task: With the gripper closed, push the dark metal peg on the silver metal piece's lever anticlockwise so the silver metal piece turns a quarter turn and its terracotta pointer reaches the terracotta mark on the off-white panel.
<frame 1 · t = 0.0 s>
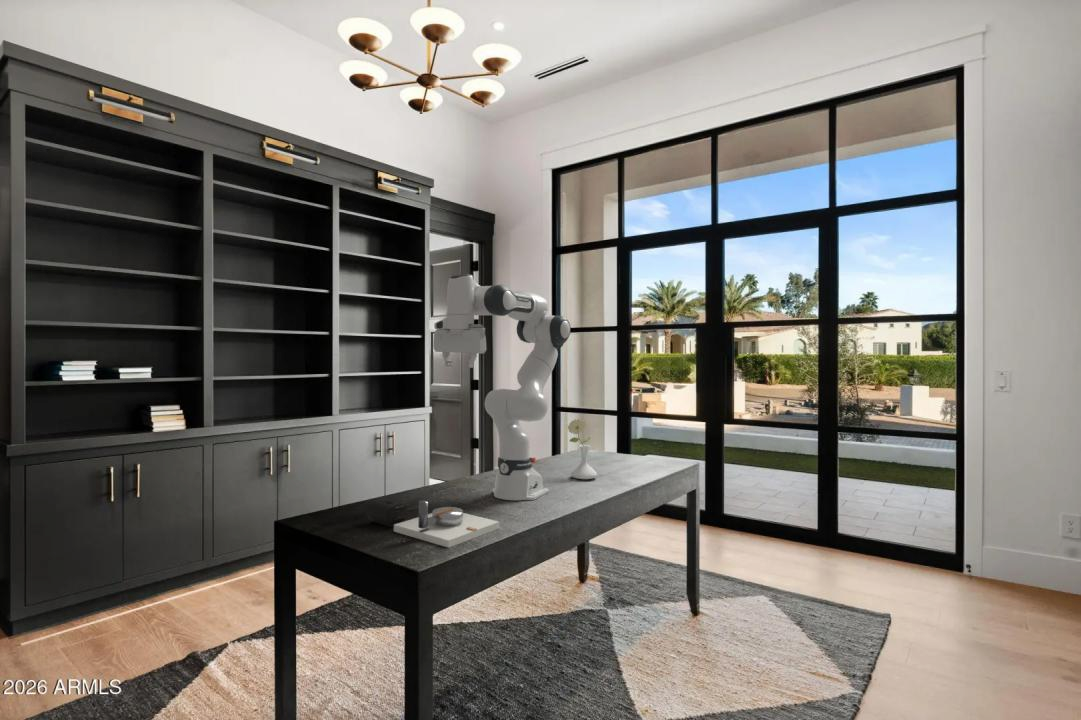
hand: (459, 367, 192), 48 cm above the table, fingers open, 8 cm apart
end cap: (385, 525, 181), on the table
flower in vase: (581, 478, 250), on the table
silver metal piece: (439, 510, 174), point 7 cm above the table, hinge at 0.0°
panel: (447, 529, 177), on the table
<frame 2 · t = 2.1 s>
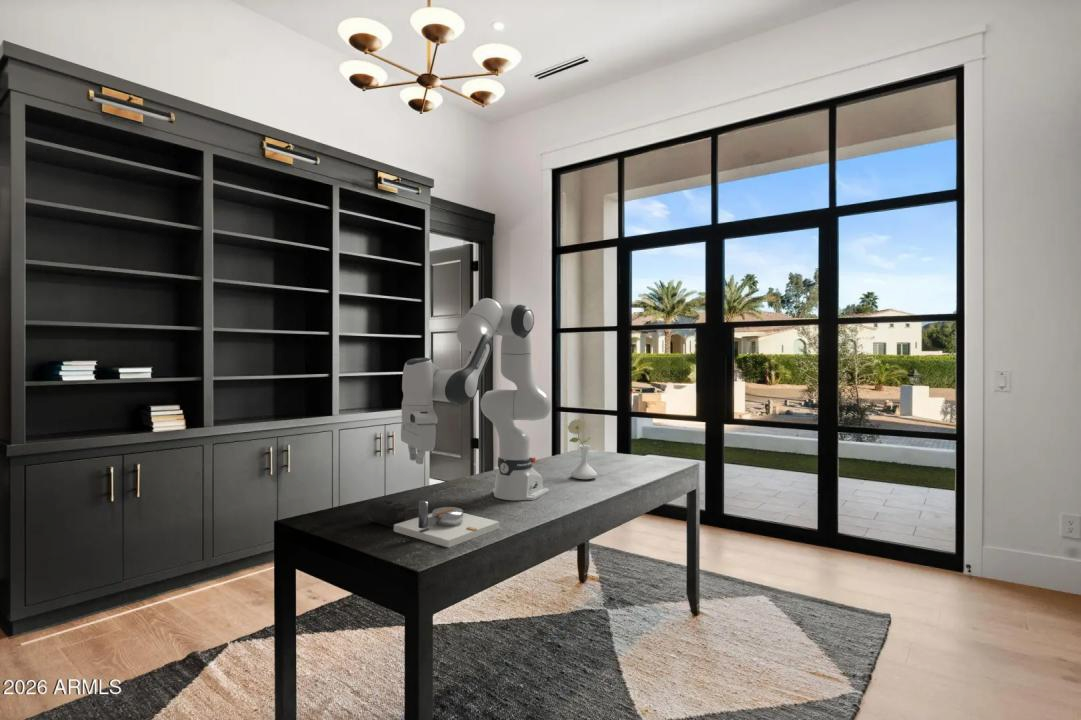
hand: (416, 461, 171), 21 cm above the table, fingers open, 4 cm apart
nothing on the table moved.
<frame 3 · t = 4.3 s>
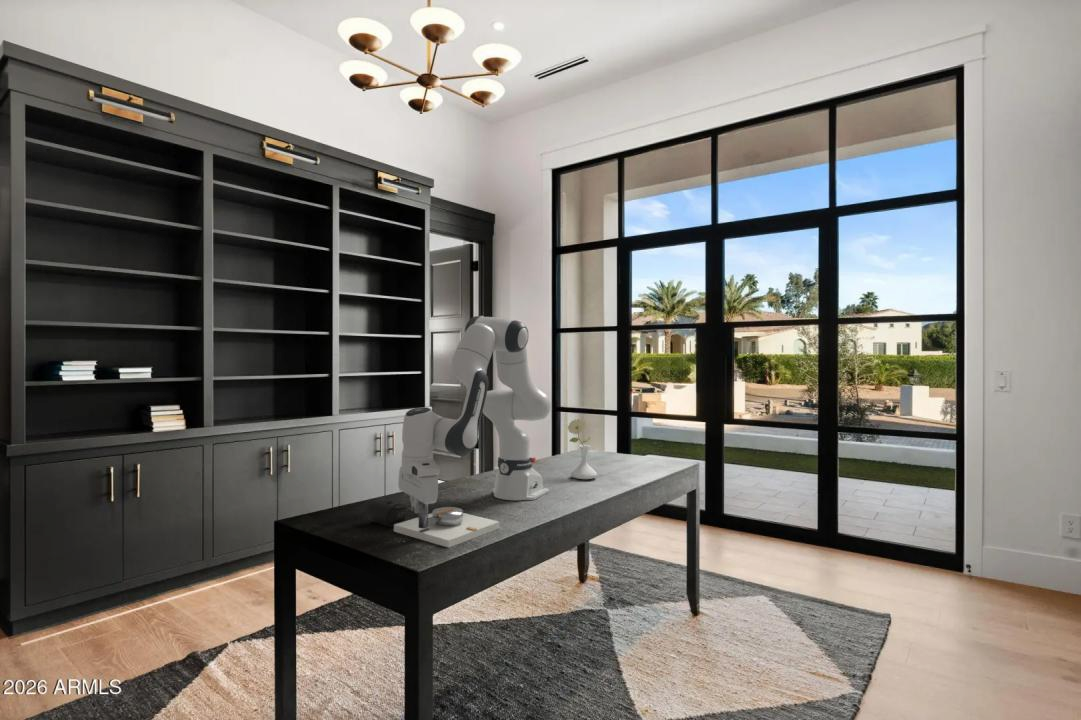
hand: (416, 512, 171), 7 cm above the table, fingers closed
silver metal piece: (439, 510, 174), point 7 cm above the table, hinge at 0.2°, touching gripper
everything else where it was.
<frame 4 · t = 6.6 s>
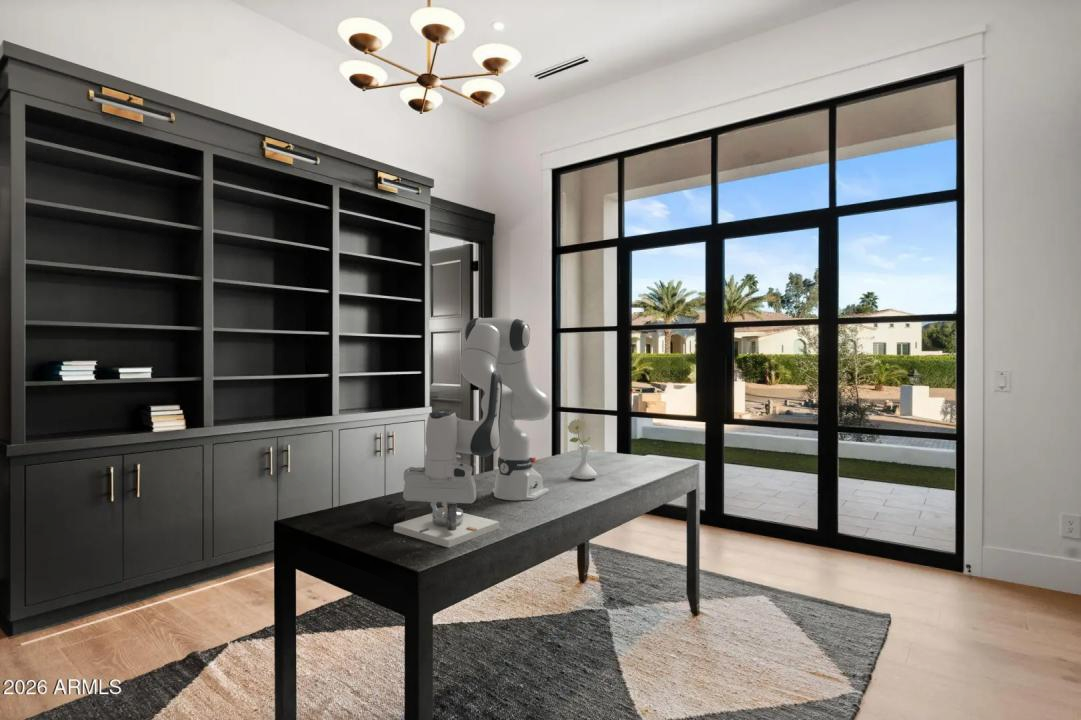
hand: (439, 517, 167), 7 cm above the table, fingers closed
silver metal piece: (449, 511, 174), point 7 cm above the table, hinge at 50.4°, touching gripper
everything else where it was.
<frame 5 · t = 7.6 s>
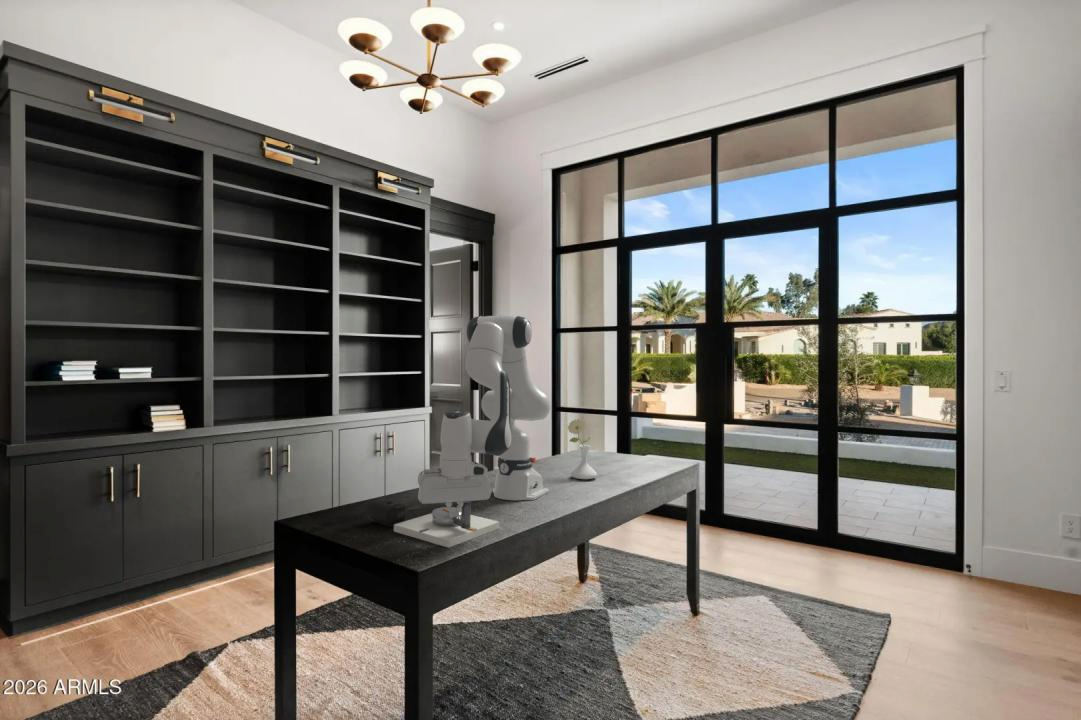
hand: (454, 516, 167), 7 cm above the table, fingers closed
silver metal piece: (453, 510, 174), point 7 cm above the table, hinge at 74.6°, touching gripper
everything else where it was.
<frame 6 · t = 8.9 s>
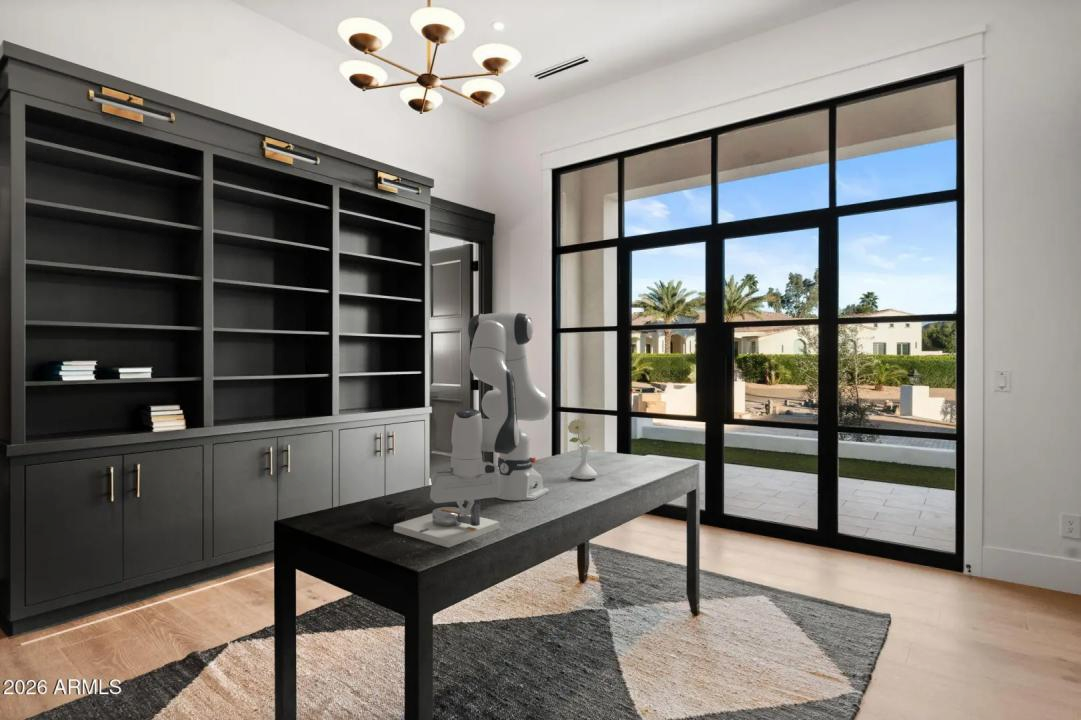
hand: (465, 515, 170), 7 cm above the table, fingers closed
silver metal piece: (457, 509, 175), point 7 cm above the table, hinge at 96.2°, touching gripper
everything else where it was.
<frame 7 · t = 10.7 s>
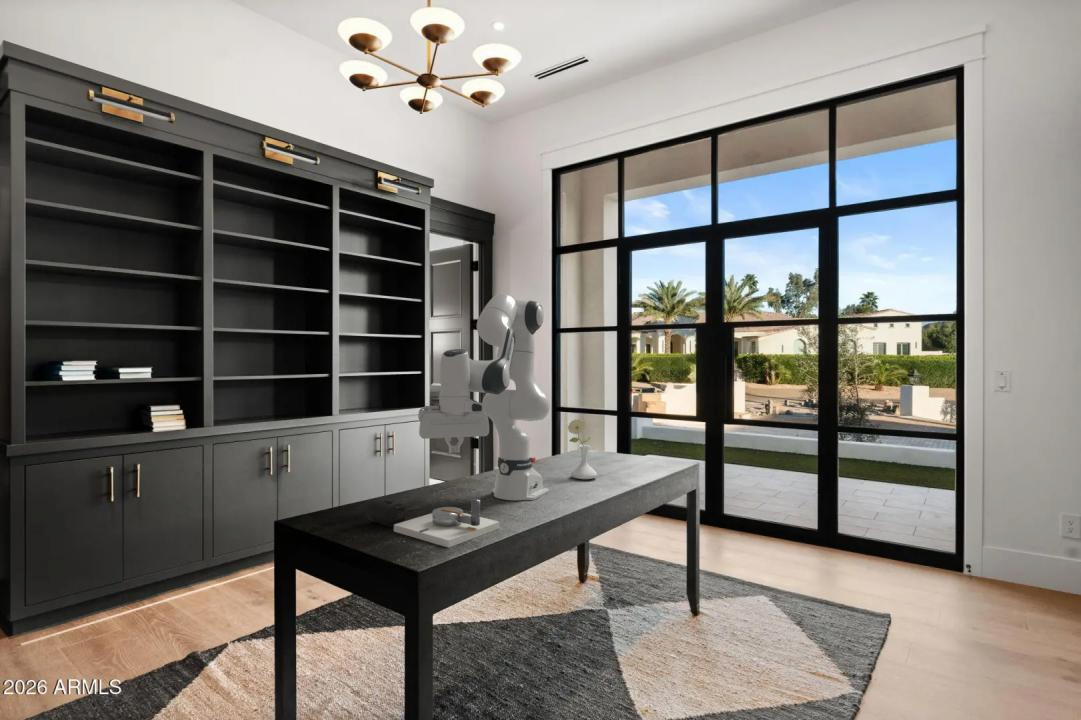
hand: (454, 452, 174), 24 cm above the table, fingers closed
silver metal piece: (457, 509, 175), point 7 cm above the table, hinge at 96.3°
everything else where it was.
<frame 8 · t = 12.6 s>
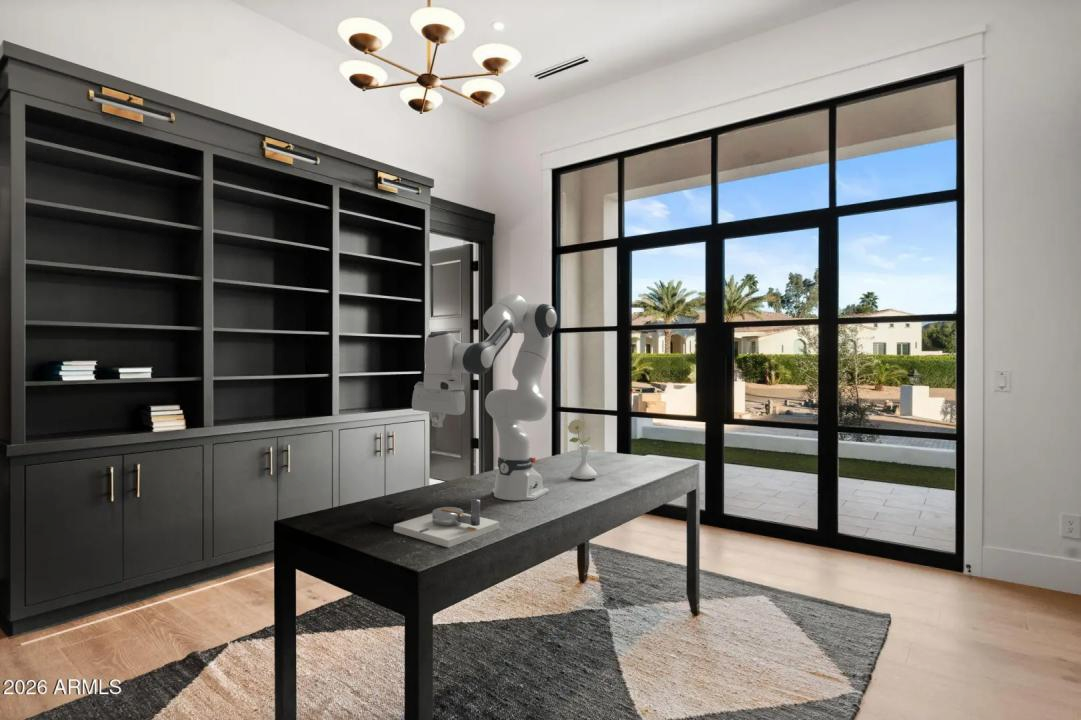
hand: (437, 426, 187), 29 cm above the table, fingers closed
nothing on the table moved.
at the end: silver metal piece at +96° (first picture: +0°) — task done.
